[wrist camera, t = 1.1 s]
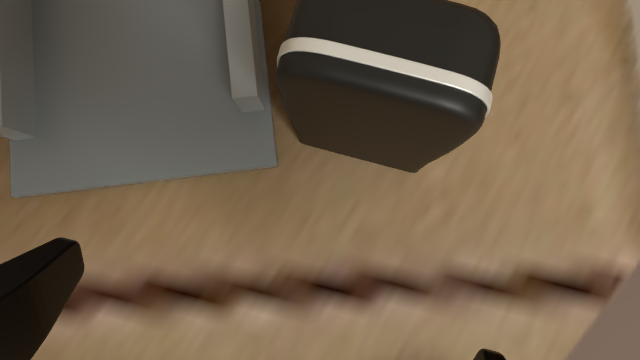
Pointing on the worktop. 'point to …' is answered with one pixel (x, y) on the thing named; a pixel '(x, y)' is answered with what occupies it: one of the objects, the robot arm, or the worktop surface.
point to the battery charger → (388, 77)
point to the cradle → (132, 92)
